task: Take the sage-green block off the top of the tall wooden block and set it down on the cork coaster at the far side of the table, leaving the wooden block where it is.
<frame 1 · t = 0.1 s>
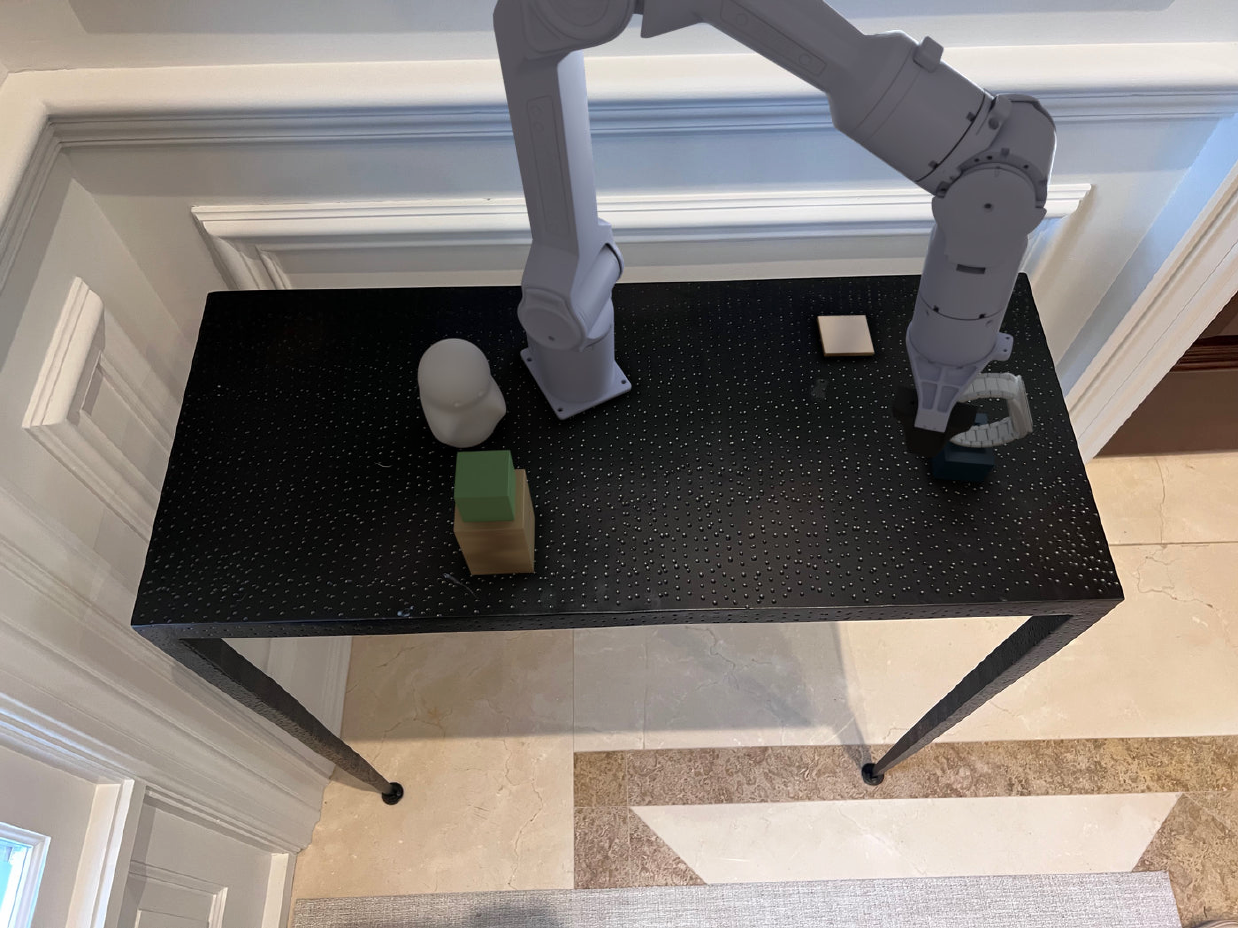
hand: (930, 414, 64), 11 cm above the table, tool pointing down, fingers open, 7 cm apart
coaster: (844, 337, 82), on the table
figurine: (468, 426, 76), on the table
green block: (489, 499, 62), point 8 cm above the table, touching wooden block
watch: (954, 455, 74), on the table
wooden block: (503, 545, 69), on the table, touching green block
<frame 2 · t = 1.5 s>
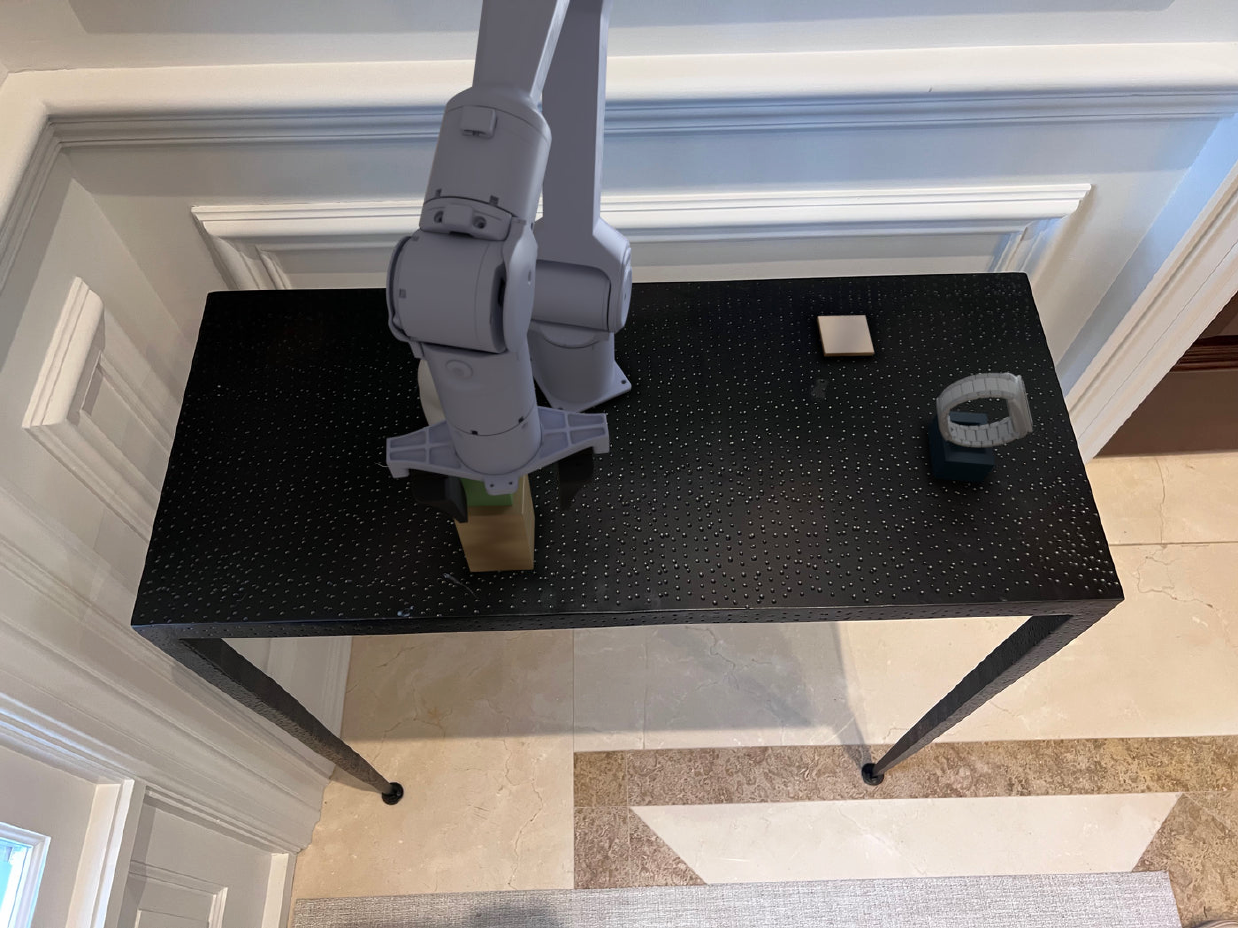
hand: (513, 505, 60), 10 cm above the table, tool pointing down, fingers open, 7 cm apart
green block: (488, 485, 63), point 9 cm above the table, tilted 6°, touching gripper
wooden block: (503, 544, 69), on the table, tilted 6°
everything else where it was.
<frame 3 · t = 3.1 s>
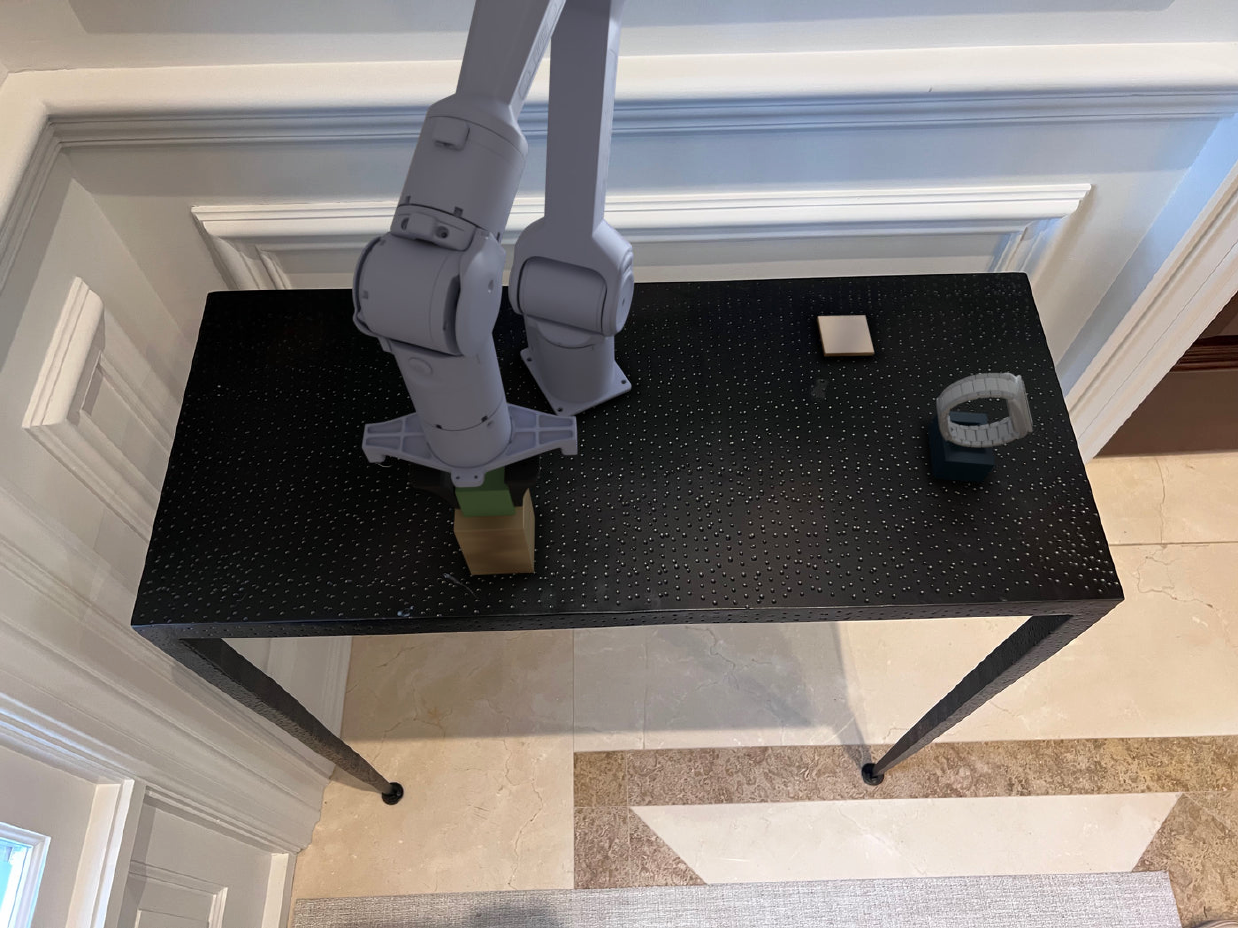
hand: (489, 496, 62), 9 cm above the table, tool pointing down, fingers closed on green block, 4 cm apart
green block: (490, 494, 62), point 9 cm above the table, touching wooden block, gripper
wooden block: (503, 545, 69), on the table, touching green block
everything else where it was.
when the fingers open (1 cm above the table, at t = 9.8 s): green block stays where it is, resting on coaster.
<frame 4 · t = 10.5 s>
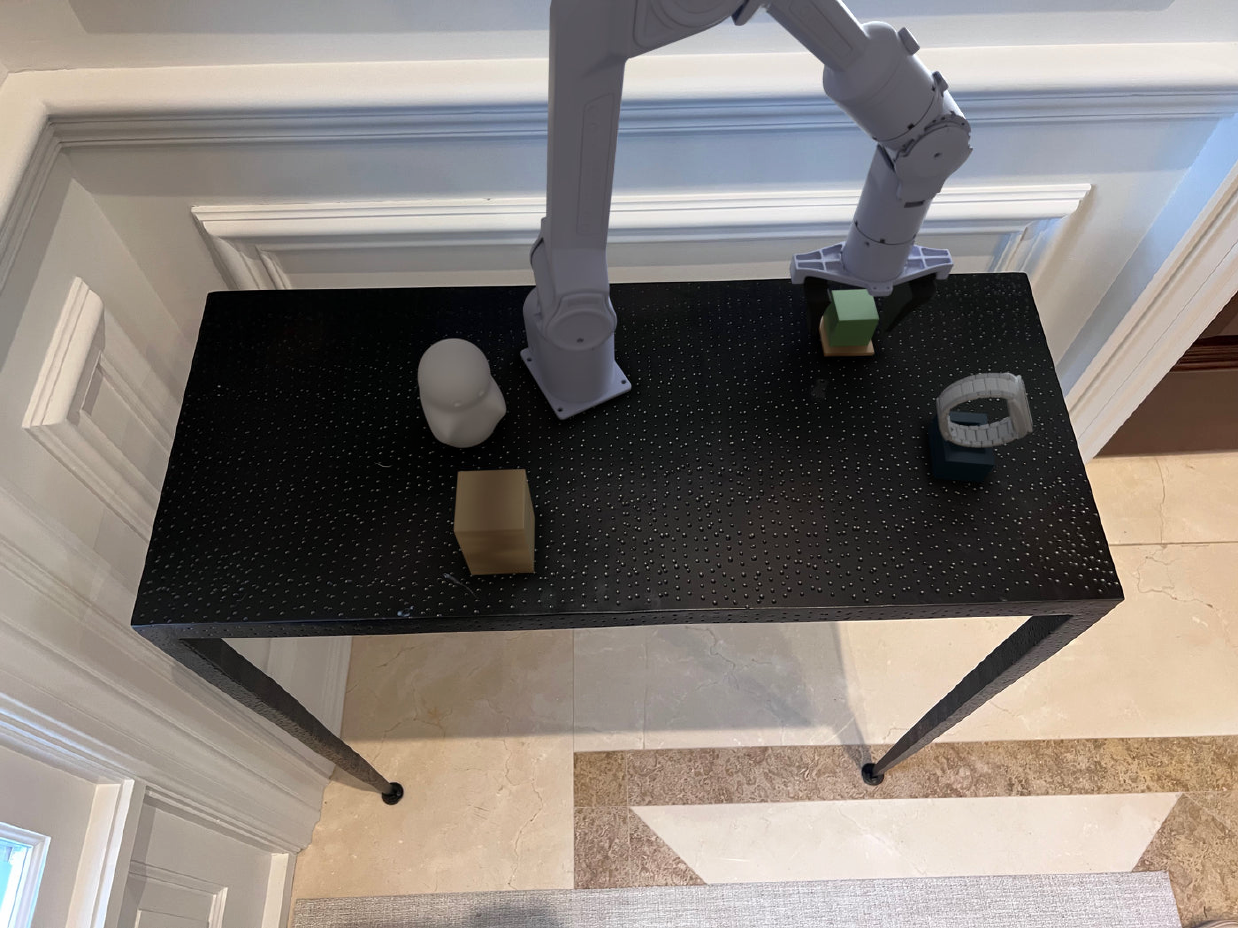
hand: (848, 326, 80), 2 cm above the table, tool pointing down, fingers open, 7 cm apart
green block: (845, 331, 81), resting on coaster
wooden block: (503, 545, 69), on the table
everything else where it was.
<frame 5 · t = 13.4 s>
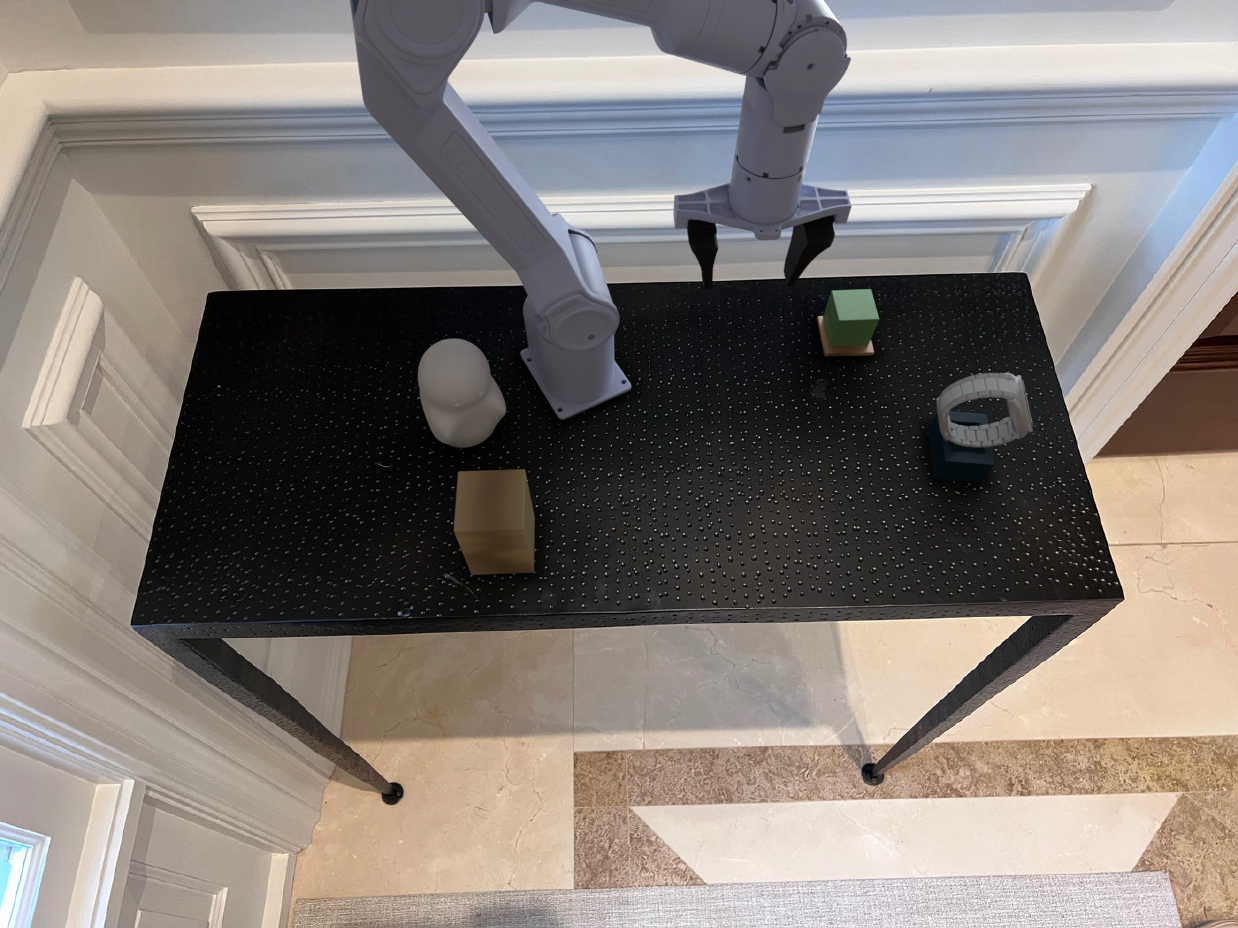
hand: (747, 280, 73), 9 cm above the table, tool pointing down, fingers open, 7 cm apart
nothing on the table moved.
at the end: green block 0.4 cm off-centre on the coaster, point 0.5 cm above the coaster's base; green block tilted 0°; wooden block moved 0.0 cm from its start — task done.
